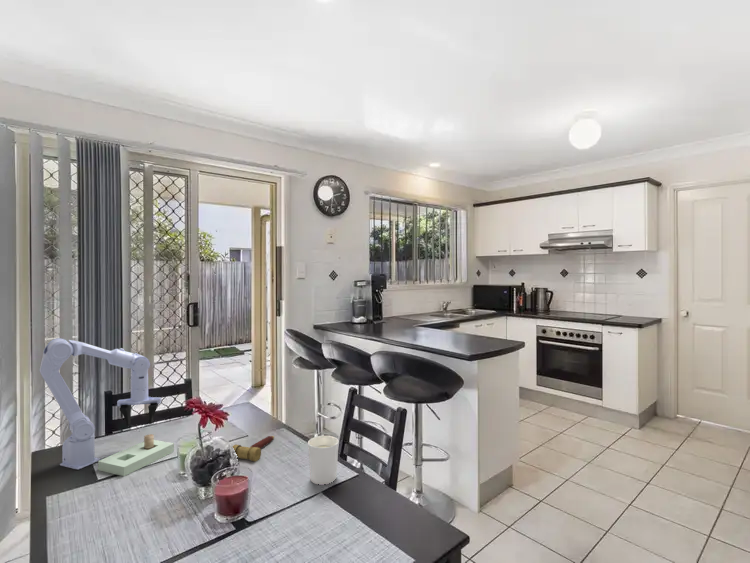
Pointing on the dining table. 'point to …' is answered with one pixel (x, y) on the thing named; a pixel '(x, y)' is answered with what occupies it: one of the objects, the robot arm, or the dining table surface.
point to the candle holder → (323, 459)
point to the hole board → (134, 458)
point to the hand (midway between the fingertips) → (139, 423)
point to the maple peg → (149, 442)
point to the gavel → (252, 449)
